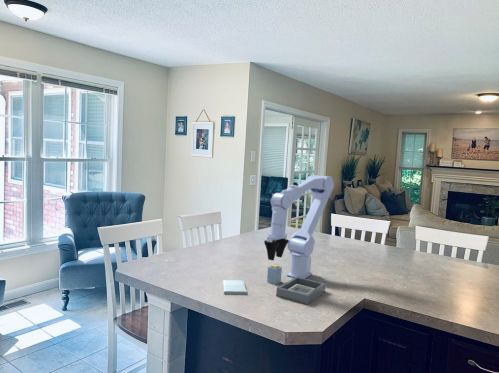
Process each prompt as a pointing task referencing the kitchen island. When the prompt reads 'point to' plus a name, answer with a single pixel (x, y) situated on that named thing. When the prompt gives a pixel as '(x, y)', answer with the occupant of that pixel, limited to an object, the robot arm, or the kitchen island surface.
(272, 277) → the plug
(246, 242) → the kitchen island surface
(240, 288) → the hard drive
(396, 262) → the kitchen island surface
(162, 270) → the kitchen island surface
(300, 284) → the dock
